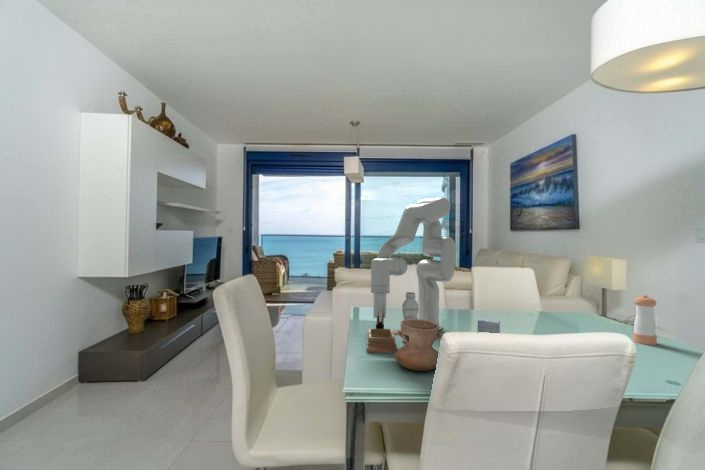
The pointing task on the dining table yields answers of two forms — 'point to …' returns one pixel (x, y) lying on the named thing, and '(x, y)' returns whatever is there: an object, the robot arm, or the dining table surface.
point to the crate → (381, 336)
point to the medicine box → (488, 326)
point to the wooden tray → (380, 346)
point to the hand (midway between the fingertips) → (379, 334)
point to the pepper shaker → (644, 321)
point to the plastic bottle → (410, 307)
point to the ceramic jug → (418, 344)
